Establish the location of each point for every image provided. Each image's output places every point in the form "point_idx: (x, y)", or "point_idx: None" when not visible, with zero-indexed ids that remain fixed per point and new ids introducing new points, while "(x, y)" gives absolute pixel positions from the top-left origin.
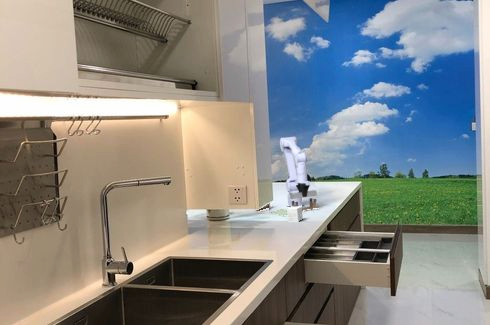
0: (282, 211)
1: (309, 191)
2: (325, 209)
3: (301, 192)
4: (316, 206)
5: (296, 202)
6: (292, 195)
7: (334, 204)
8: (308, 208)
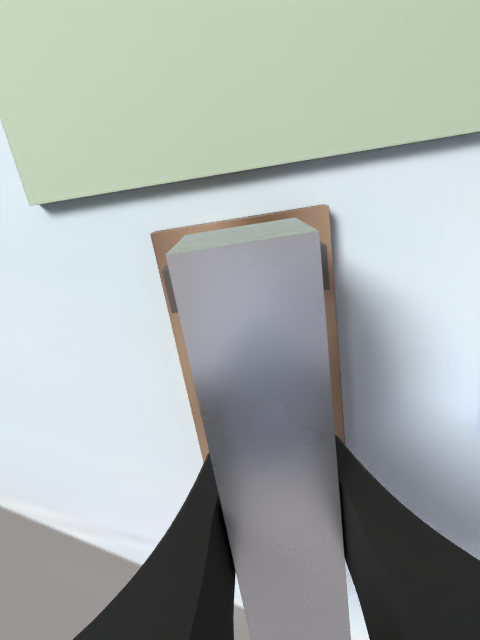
0: (267, 57)
1: (256, 630)
2: (161, 511)
3: (244, 499)
4: None
5: (167, 281)
6: (173, 250)
7: (353, 625)
8: None
